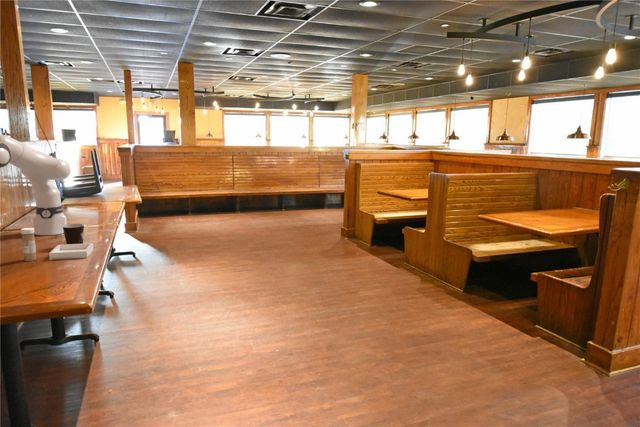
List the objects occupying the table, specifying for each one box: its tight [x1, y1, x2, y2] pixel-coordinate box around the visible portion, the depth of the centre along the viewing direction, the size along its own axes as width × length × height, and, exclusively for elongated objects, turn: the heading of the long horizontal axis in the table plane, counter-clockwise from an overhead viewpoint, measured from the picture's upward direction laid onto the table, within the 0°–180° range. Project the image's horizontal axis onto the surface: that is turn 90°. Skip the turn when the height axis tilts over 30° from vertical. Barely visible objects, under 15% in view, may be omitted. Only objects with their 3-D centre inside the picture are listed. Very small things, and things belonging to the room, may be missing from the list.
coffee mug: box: [63, 223, 85, 245], centre depth 202 cm, size 12×9×10 cm
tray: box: [48, 242, 94, 261], centre depth 188 cm, size 14×14×3 cm
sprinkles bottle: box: [20, 227, 37, 262], centre depth 178 cm, size 5×5×13 cm
